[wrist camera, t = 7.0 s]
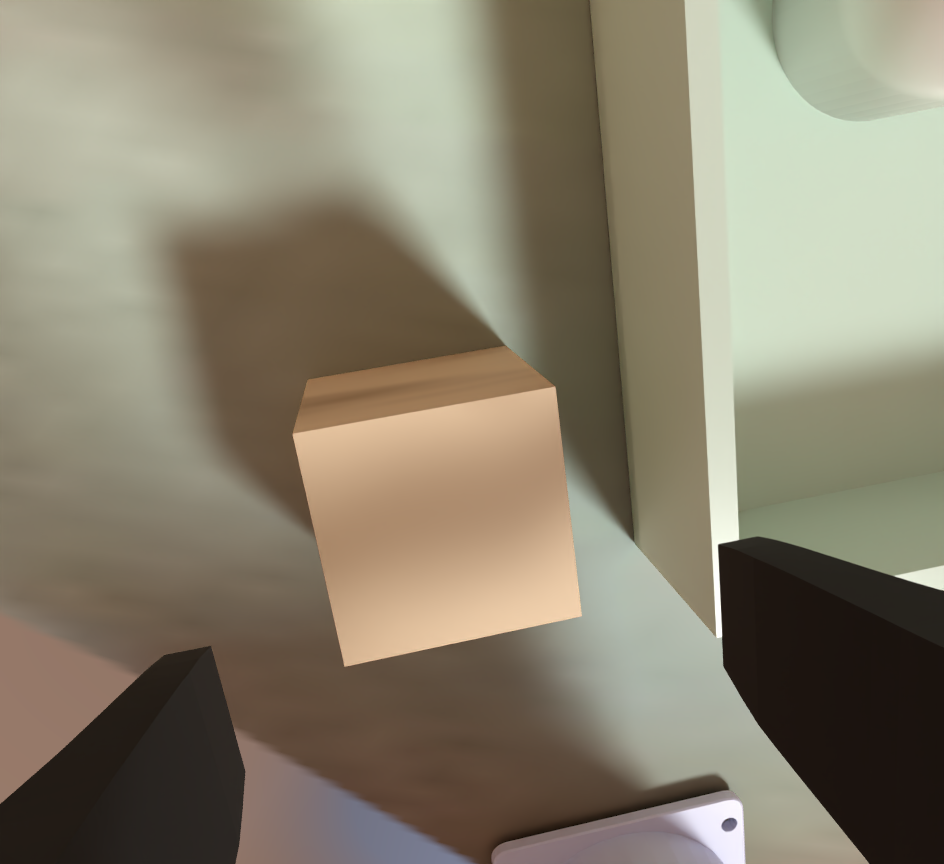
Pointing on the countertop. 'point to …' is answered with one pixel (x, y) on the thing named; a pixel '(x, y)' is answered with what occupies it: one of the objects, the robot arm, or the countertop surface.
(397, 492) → the maple cube
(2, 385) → the countertop surface
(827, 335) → the tote
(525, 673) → the countertop surface
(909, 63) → the pale pink egg
